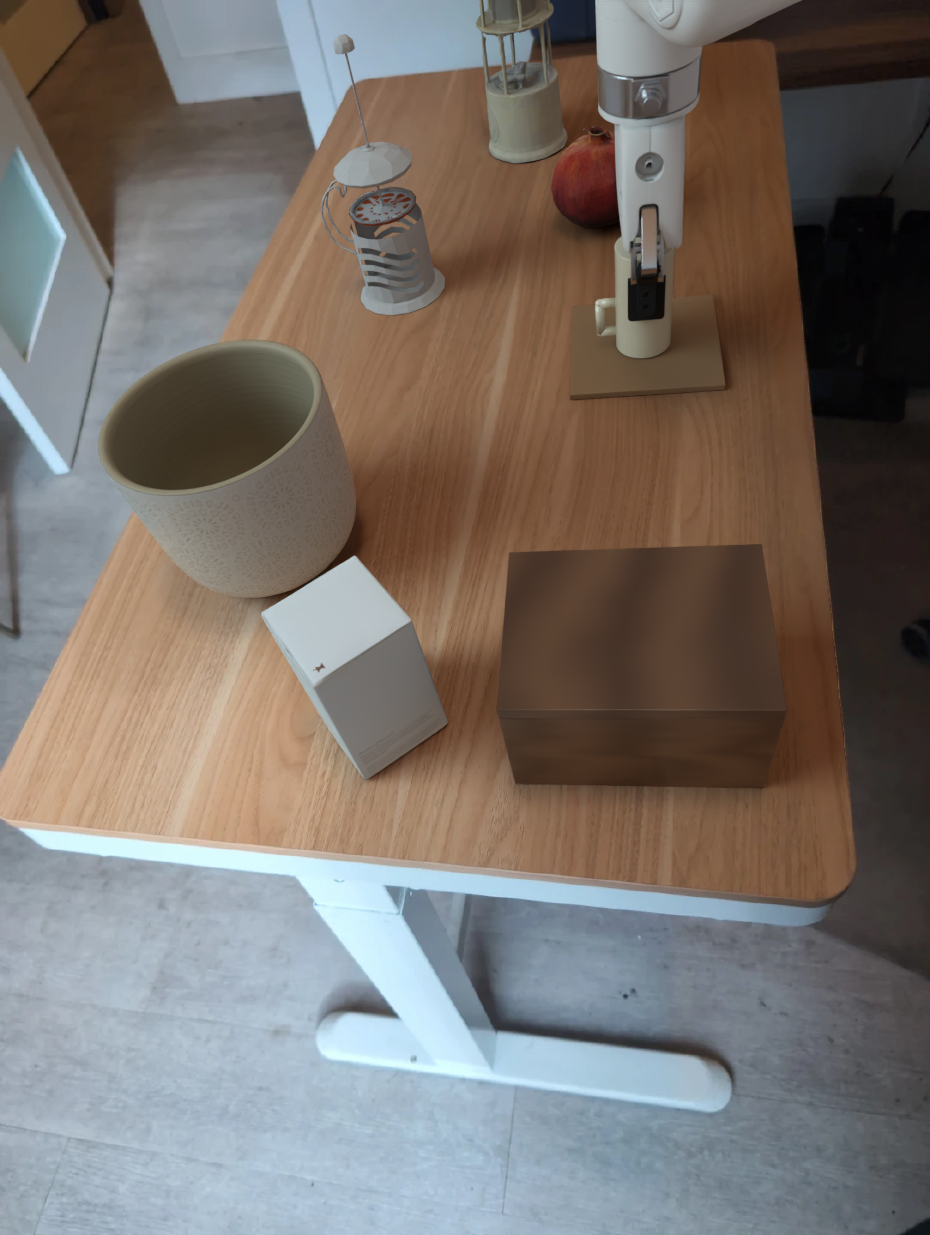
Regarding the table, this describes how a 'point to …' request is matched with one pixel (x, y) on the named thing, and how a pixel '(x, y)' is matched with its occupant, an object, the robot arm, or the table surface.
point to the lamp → (521, 85)
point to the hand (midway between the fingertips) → (644, 296)
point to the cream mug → (630, 335)
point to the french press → (400, 272)
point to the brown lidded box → (640, 667)
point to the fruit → (588, 180)
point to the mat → (673, 371)
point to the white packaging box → (359, 665)
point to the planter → (235, 466)
